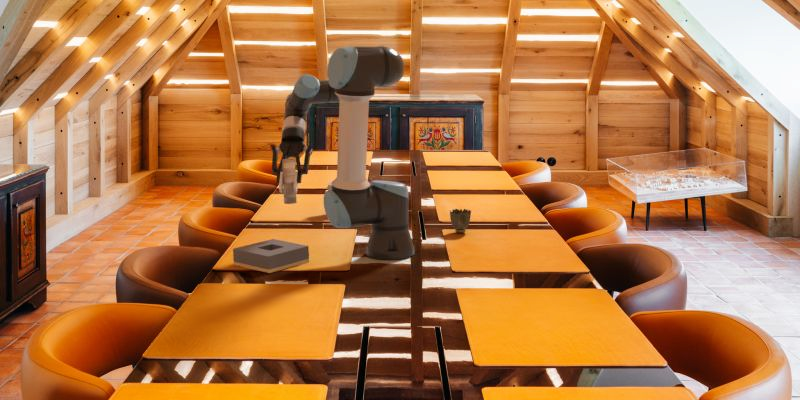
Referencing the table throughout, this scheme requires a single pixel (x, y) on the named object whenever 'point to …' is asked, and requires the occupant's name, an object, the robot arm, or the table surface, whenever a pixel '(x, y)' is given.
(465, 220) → the cup
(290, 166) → the birch peg
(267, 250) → the socket block
